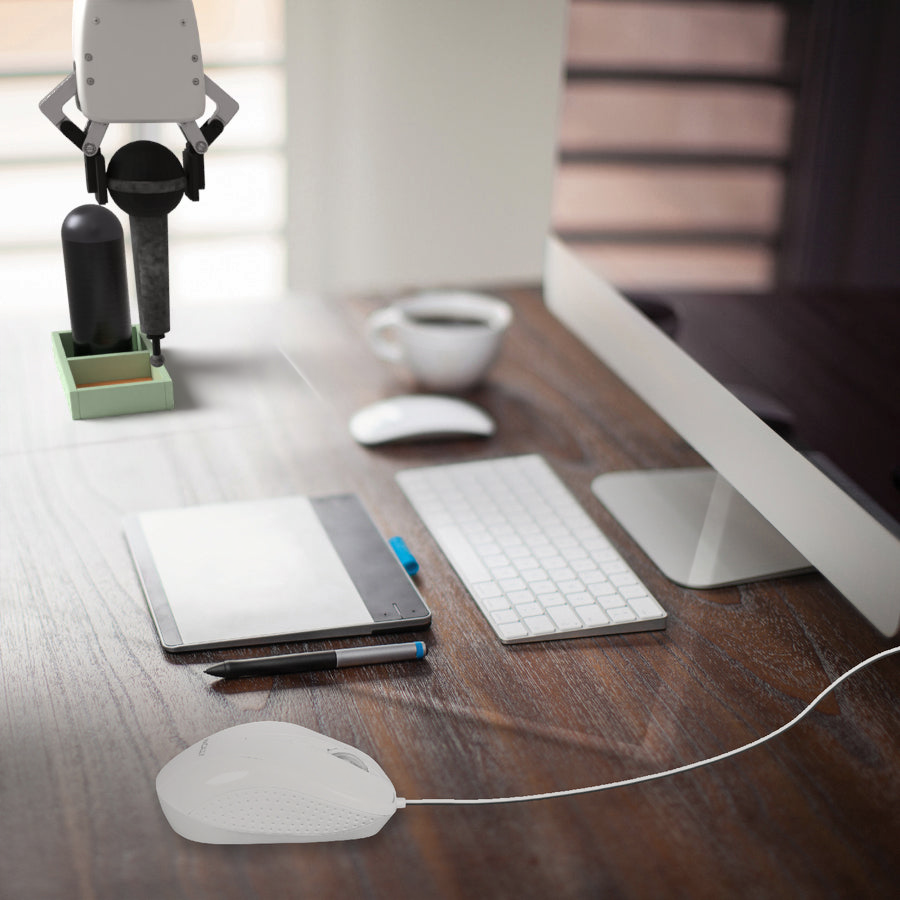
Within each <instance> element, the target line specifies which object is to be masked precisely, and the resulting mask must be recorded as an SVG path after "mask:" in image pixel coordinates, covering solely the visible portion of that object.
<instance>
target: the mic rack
mask: <svg viewBox="0 0 900 900" xmlns="http://www.w3.org/2000/svg"><path fill="white" fill-rule="evenodd" d="M131 326H132V338H133V350H134V352H124V353H114V354H103V355H93V356H82V357H74V351H73V342H72V332H71V329H68V330H58V331H57V330H56V331H51V332H50V337H51V344H52V354H53V359H55V360H54V364H55V366H56V369H57V373H58V376H59V379H60V384H61V386H62V390H63V393H64V396H65V400H66V403H67V407H68V410H69V413H70V417H71V420H72V421H79V420H87V419H97V418H105V417H115V416H123V415H132V414H138V413H139V414H141V413H149V412H157V411H164V410H165V411H167V410H173V409H175V398H174V385H173V384H174V383H173V380H172V378H171V376H170V374H169V372H168V370H167V368H166V366H165V365H164V364H163V366H161V367H158V368H156V367H154V366H152V365H151V363H150V357H151V356H152V355H153V349H152V340H150V339H147V338H146V336H147V334H144V333H142V332H141V331H140V323H135V324H131Z"/></svg>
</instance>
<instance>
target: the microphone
mask: <svg viewBox="0 0 900 900" xmlns="http://www.w3.org/2000/svg"><path fill="white" fill-rule="evenodd" d="M106 179H107V192H108V193H109V196H110V198H111V199H112V201H113V203H115V205H116V206H117V207H118V208H119V209H120V210H121V211H123V212H124V213H125V214H127V215H128V222H129V231H130V232H129V233H130V241H131V252H132V261H133V270H134V271H133V272H134V273H133V274H134V282H135V291H136V292H135V293H136V301H137V310H138V311H137V313H138V321H139V324H140V331H141V332H142V333H144V334H147V336H146V338H147V339H150V340H151V342H152V349H153V355H152V356H151V357H150V363H151V365H152V366H154V367H156V368H158V367H161V366H163V365H164V364H165V361H166V360H165V357H164V355H163V354H162V348H161V340H163V339H165V338H166V334H168V333H169V332H170V331H171V302H170V301H171V300H170V259H169V258H170V257H169V254H170V253H169V251H170V250H169V214H170V213H171V212H173V211H174V210H175V209H176V208H177V207H178V206H179V204H180V203H181V201H182V199H183V197H184V196H185V193H184V191H185V187H186V186H187V182H188V179H187V176H186V175H185V172H184V169H183V163H181V161H180V159H179V158H178V156H177V155H176V154H175V153H174V152H173V151H172V150H171V149H170V148H168V147H167V146H165V145H163V144H161V143H160V142H157V141H154V140H150V139H149V140H147V139H139V140H135V141H134V140H133V141H130V142H128V143H126V144H124V145H122V146H121V147H120V148H118V149H117V150H116V151H115V152H114V154H113V155H112V156H111V158H110V160H109V162H108V164H107V166H106Z"/></svg>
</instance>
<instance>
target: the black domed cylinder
mask: <svg viewBox="0 0 900 900" xmlns="http://www.w3.org/2000/svg"><path fill="white" fill-rule="evenodd" d="M60 228H61V229H60V238H61V247H62V258H63V266H64V275H65V284H66V294H67V303H68V312H69V313H68V314H69V323H70V330H71V332H72V342H73V351H74V357H82V356H93V355H103V354H114V353H124V352H134V350H133V338H132V326H131V325H132V316H131V315H132V314H131V303H130V291H129V280H128V279H129V277H128V269H127V268H128V267H127V256H126V255H127V254H126V245H125V232H124V228H123V224H122V222H121V220H120V219H119V217H118V216H117V215H116V214H115V213H114V212H113V211H112V210H111V209H109V208H108V207H106V206H104V205H99V204H96V203H85V204H81V205H79V206H76V207H74V208H73V209H71V211H69V212H68V213H67V215H66V216H65V217H64V219H63V221H62V224H61V227H60Z"/></svg>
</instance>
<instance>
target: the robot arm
mask: <svg viewBox="0 0 900 900" xmlns="http://www.w3.org/2000/svg"><path fill="white" fill-rule="evenodd" d="M72 1H73V2H72V15H71V57H72V59H71V60H72V61H71V62H72V72H70V73H69V74H68V75H67V76H66V77H65V78H64V79H63V80H62V81H61V82H59V83H58V84H57V85H56V86H55V87H54V88H53V89H52V90H51V91H49V92H48V93H47V94H46V95H45V96H44V97H42V99H41V100H40V101H39V102H38V109H39V111H40V112H41V113H42V114H43V115H44V116H45V118H46V119H48V121H50V123H51V124H52V125H54V127H55V128H57V130H58V131H59V132H60V133H61V134H62V135H63V136H64V137H65V138H66V139H68V140H69V141H70V142H71V144H73V145H74V146H76V148H77V149H79V150H80V151H81V152H82V153H83V160H84V161H83V162H84V174H85V185H86V192H87V194H94V199H95V201H96V203H97V205H101V206H106V205H107V204H109V195H108V193H109V191H108V189H107V179H106V171H107V166H106V158H105V155H104V154H103V153H102V149H101V144H102V142H103V140H104V138H105V135H106V132H107V130H108V128H109V126H110V124H177V127H178V128H179V130H180V132H181V134H182V135H183V137H184V139H185V141H186V143H185V147H184V148H183V150H182V151H181V152H182V153H181V154H182V155H181V156H182V167H183V169H184V172H185V175H186V176H187V179H188V182H187V186H186V187H185V191H184V196H186V198H187V199H189V201H191V202H192V203H194V202H198V203H199V202H200V191H203V190H204V191H205V190H206V174H205V173H206V172H205V153H207V152H208V150H209V147H210V146H211V145H212V144H213V143H214V142H215V141H216V140H217V138H219V137H220V135H221V134H222V133H223V132H224V130H225V128H226V126H227V125H228V124H229V123H230V122H231V121H232V119H234V117H235V115H236V114H237V113H238V112H239V110H240V104H239V103H238V102H237V101H236V100H235V99H234V98H233V97H232V96H231V95H230V94H229V93H227V92H226V91H225V90H223V88H222V87H221V86H219V85H218V84H217V83H216V82H214V80H212V79H211V78H210V77H209V76H208V75H207V74H205V73H204V72H205V71H204V64H203V53H202V47H201V39H200V33H199V26H198V21H197V15H196V10H195V6H194V3H193V2H194V1H193V0H72ZM73 97H74V102H75V106H76V108H77V110H78V111H79V112H81V113H82V115H83V116H84V117H85V118H86V119H87V120H86V123H85V125H84V127H83V129H81V128H80V127H79V126H78V125H77V124H76V123H74V122H73V120H71V119H70V118H69V117H68V116H67V115H66V113H65V112H64V111H63V108H64V105H66V104H67V103H68V102H69V101H70V100H71V99H72V98H73ZM206 97H207V98H209V99H210V100H211V101H212V102H214V105H215V106H216V107H215V110H214V112H213V114H212V115H211V116H210V117H209V118H208V119H206V121H204V122H203V124H202V125H201V126H199V125H198V123H197V120H199V119H200V118H202V117H203V116H204V115H205V112H206V107H207V106H206V104H207V103H206V101H207V100H206V99H207V98H206Z"/></svg>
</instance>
